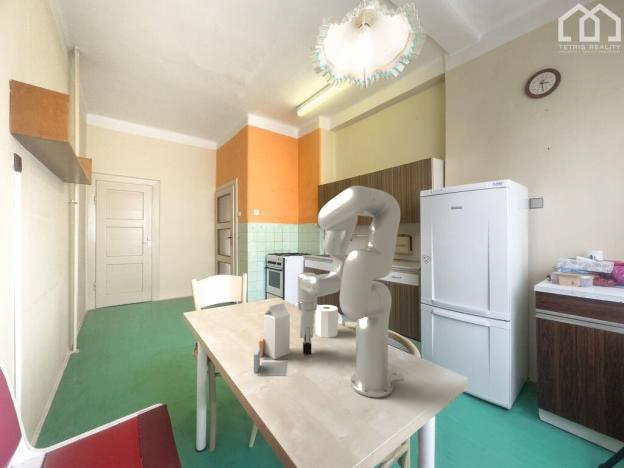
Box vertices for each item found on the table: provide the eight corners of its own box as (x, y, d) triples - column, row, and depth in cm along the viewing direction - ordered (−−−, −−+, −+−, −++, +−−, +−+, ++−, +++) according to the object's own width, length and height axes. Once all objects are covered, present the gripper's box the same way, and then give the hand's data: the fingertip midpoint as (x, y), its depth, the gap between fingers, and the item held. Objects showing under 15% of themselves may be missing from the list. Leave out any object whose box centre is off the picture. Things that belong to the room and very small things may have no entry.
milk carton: (289, 353, 101) (290, 304, 101) (274, 359, 96) (275, 307, 96) (278, 348, 106) (278, 300, 106) (263, 353, 101) (263, 304, 101)
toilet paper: (311, 334, 121) (311, 308, 121) (323, 328, 129) (323, 303, 129) (329, 339, 114) (329, 312, 114) (341, 332, 123) (341, 307, 123)
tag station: (289, 349, 105) (289, 333, 105) (285, 376, 85) (285, 357, 85) (262, 349, 105) (262, 334, 105) (252, 376, 85) (252, 357, 85)
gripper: (297, 300, 108) (297, 345, 108) (297, 310, 93) (297, 362, 93) (315, 300, 108) (315, 344, 108) (318, 310, 93) (318, 362, 93)
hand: (307, 353), depth 101 cm, fingers closed
